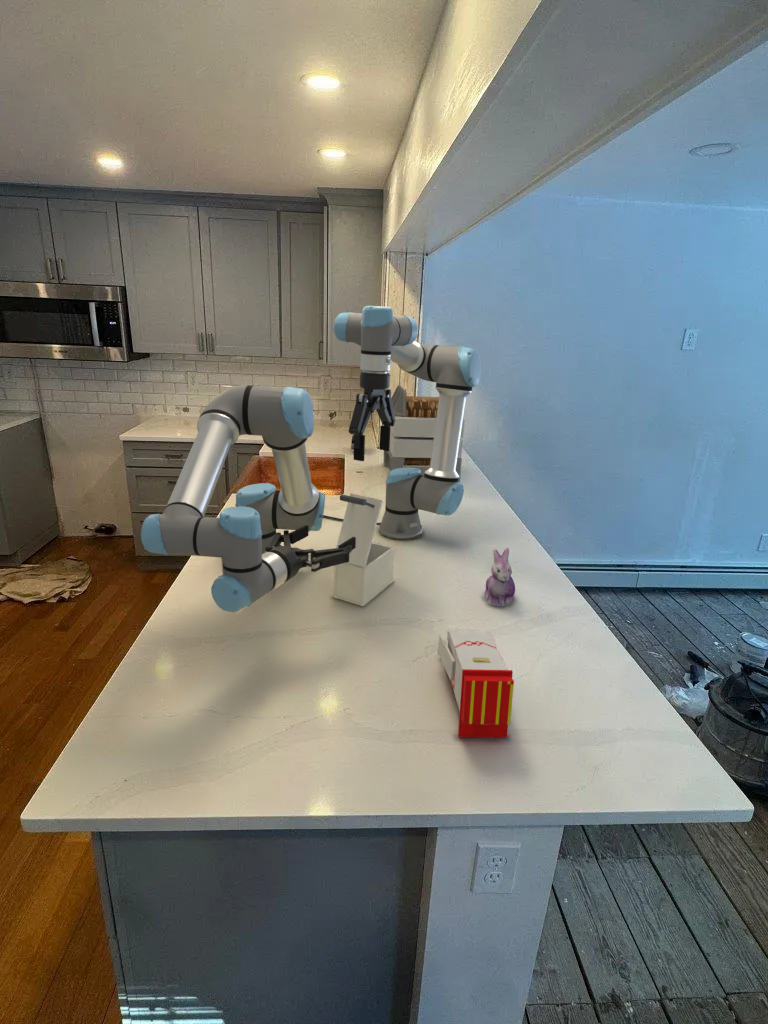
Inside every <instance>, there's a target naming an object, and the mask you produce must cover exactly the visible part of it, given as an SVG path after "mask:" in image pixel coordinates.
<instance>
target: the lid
mask: <svg viewBox="0 0 768 1024" xmlns="http://www.w3.org/2000/svg"><path fill="white" fill-rule="evenodd" d="M339 500H340V501H342V502H345V503H347V505H346V509H345V512H344V516H343V519H344V520H343V521H342V524H341V527H340V531H339V535H338V539H337V542H336V546H335V548H338V546H339V545H340V544H342V543H344V542H345V541H347V540H349V539H350V538H352V537H356V548H355V549H353V550H352V552H350V554H349V562H347V563H351V564H354V565H358V566H362V567H366V563H367V559H368V556H369V552H370V548H371V544H372V542H373V540H374V537H375V532H376V528H377V526H378V525H377V523H378V521H379V517H380V513H381V510H382V505H383V501H384V500H382V499H378V498H374V497H370V496H364V495H360V494H354V493H349V495H347V494H340V495H339Z"/></svg>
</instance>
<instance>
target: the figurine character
mask: <svg viewBox="0 0 768 1024" xmlns="http://www.w3.org/2000/svg"><path fill="white" fill-rule="evenodd" d="M350 450H351V451H352V450H353V451H352V453H354V434H352V435H351V443H350Z"/></svg>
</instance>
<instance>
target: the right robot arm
mask: <svg viewBox="0 0 768 1024" xmlns="http://www.w3.org/2000/svg"><path fill="white" fill-rule="evenodd" d="M333 332H334V335H335V337H336V339H337V340H338V341H340V342H343V343H344V342H345V343H353V344H356V345H358V346H360V357H359V358H360V360H359V370H360V373H359V387H360V388H362V389H363V393H357V394H356V397H355V404H354V409H353V412H352V417H351V420H350V423H349V426H348V427H349V429H348V433H349V434H350V435H354V452H353V461H357V462H365V449H366V435H365V434H364V433H365V430H366V428H367V425H368V423H369V420H370V418H371V416H372V415H373V413H375V411H376V413H377V415H378V417H379V420H380V422H381V425H380V426H379V447H378V448H379V449H378V450H380V451H384V450H385V451H389V448H390V426H394V425H395V423H394V422H395V416H394V411H393V405H392V400H391V398H392V389H389V388H390V385H391V374H390V373H389V372H390V371H391V363H392V362H393V363H394V364H396V365H397V367H398V368H399V369H400V370H402V371H404V372H405V373H408V374H410V375H411V376H414V377H415V378H418V379H421V380H423V381H426V382H432V383H435V390H436V391H437V392H438V395H439V396H438V397H439V402H438V409H437V417H436V424H435V432H434V439H433V447H432V454H431V461H430V466H428V468H427V469H426V470H424V472H423V474H422V470H421V468H419V467H412V466H411V467H408V466H406V467H404V468H397V469H393V470H391V471H390V470H389V471H388V472H387V475H386V480H385V504H384V505H385V507H384V508H385V509H384V513H383V515H382V519H381V522H377V525H376V526H378V533H379V534H380V535H381V536H382V537H385V538H387V539H389V540H395V541H410V540H415V539H418V538H420V537H421V536H422V535H423V525H422V524H421V518H420V515H419V510H420V511H424V512H429V513H432V514H436V515H438V516H439V515H441V516H445V517H448V516H449V517H450V516H452V515H453V514H454V513H456V511H457V510H458V509H459V507H460V505H461V503H462V500H463V497H464V493H465V492H464V491H465V488H464V484H463V483H462V482H461V481H460V482H459V475H458V474H457V472H456V464H457V457H458V450H459V443H460V439H461V438H460V436H461V429H462V422H463V419H464V414H465V410H466V409H465V407H466V400H467V397H468V396H469V395H470V394H472V392H473V388H475V387H477V386H478V385H479V384H480V381H481V378H482V370H483V368H482V359H481V357H480V356H481V355H480V354H479V352H478V350H476V349H475V348H472V347H467V346H459V345H458V346H455V345H441V344H426V343H419V342H417V341H416V339H417V337H418V335H419V327H418V323H417V322H416V320H415V319H414V318H413V317H412V316H410V315H406V314H394V310H393V308H392V307H391V306H382V305H381V306H379V305H365V306H363V308H362V311H361V313H360V312H352V311H350V312H340V313H339V314H338V315H337V316H336V317H335V319H334V325H333ZM390 417H391V418H390ZM323 518H326V519H330V520H335V521H341V522H343V520H344V518H339V517H335V516H329V515H325V514H323Z"/></svg>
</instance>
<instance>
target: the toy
mask: <svg viewBox="0 0 768 1024" xmlns="http://www.w3.org/2000/svg"><path fill="white" fill-rule="evenodd" d="M446 640H447V643H446V641H445V639H444V636H443V635H442V634H439V637H438V646H437V656H438V657H439V659H440V661H441V663H442V666H443V668H444V670H445V672H446V674H447V677H448V679H449V681H450V684H451V687H452V690H453V693H454V697H455V701H456V705H457V708H458V711H459V714H458V715H459V716H458V730H457V731H458V732H457V737H458V738H508V731H509V726H510V725H511V717H512V707H513V697H514V696H513V695H514V684H515V680H514V679H513V673H514V671H513V670H512V669H508V667H507V665H506V662H505V661H504V659H503V658H502V655H501V653H500V651H499V649H498V647H497V643H496V639H495V637H494V635H493V634H491V632H490V631H489V629H467V628H466V629H465V628H463V629H461V628H460V629H459V628H448V630H447V639H446Z"/></svg>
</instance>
